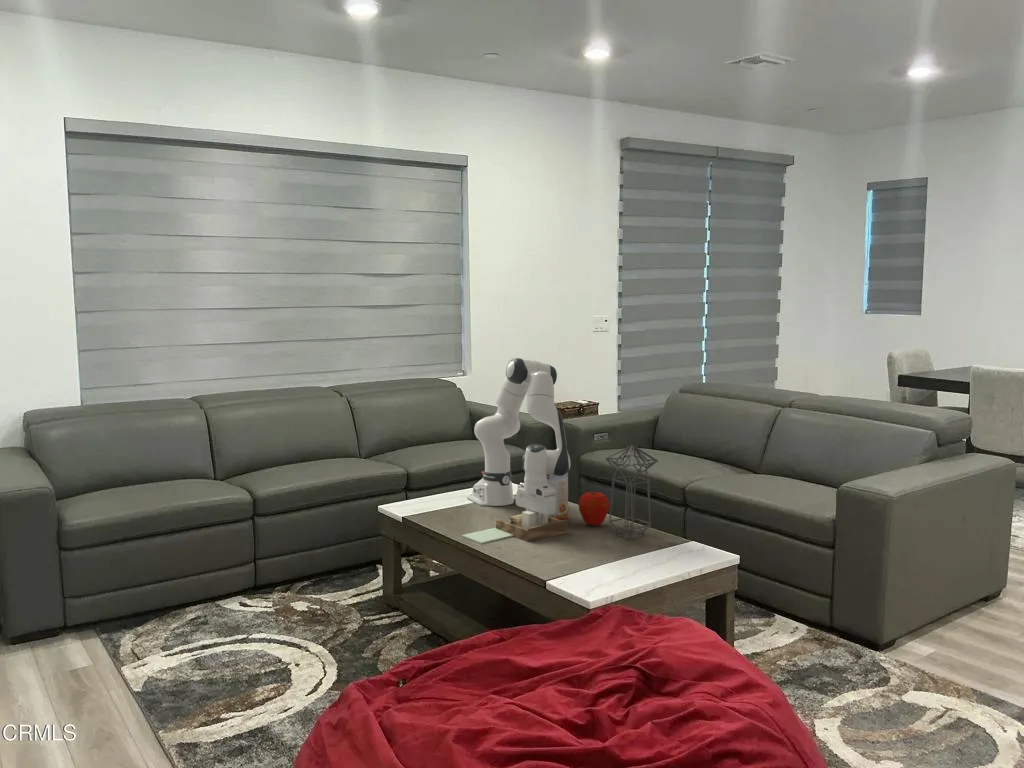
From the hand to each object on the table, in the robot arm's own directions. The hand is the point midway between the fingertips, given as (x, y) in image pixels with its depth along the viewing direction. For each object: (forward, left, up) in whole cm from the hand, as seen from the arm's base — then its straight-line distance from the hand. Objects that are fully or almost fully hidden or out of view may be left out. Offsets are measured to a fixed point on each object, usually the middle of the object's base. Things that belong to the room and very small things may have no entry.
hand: (535, 521), depth 334 cm
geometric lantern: (+26, +26, -4) cm, 37 cm away
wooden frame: (-2, 0, -4) cm, 5 cm away
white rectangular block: (0, 0, -4) cm, 4 cm away
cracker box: (-10, +17, -5) cm, 20 cm away
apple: (+7, +25, -4) cm, 26 cm away
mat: (-7, -17, -4) cm, 19 cm away
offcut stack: (-8, 0, -5) cm, 9 cm away
